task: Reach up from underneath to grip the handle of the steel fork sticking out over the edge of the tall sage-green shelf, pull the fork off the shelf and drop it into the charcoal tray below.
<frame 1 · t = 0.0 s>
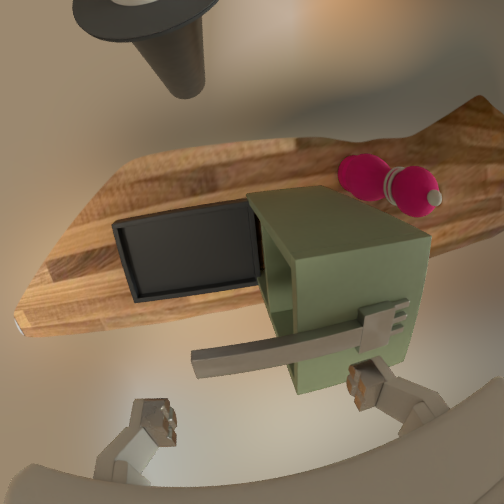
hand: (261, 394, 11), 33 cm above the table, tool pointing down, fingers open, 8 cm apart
shelf: (288, 232, 44), on the table
fork: (297, 342, 20), point 25 cm above the table, touching shelf
pepper mill: (353, 173, 42), on the table
tray: (188, 250, 42), on the table
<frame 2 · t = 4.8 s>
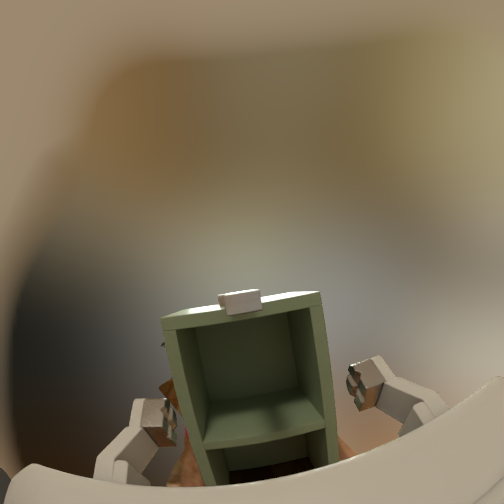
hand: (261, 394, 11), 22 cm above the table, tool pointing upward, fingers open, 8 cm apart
shelf: (273, 484, 25), on the table
fork: (240, 306, 23), point 25 cm above the table, touching shelf
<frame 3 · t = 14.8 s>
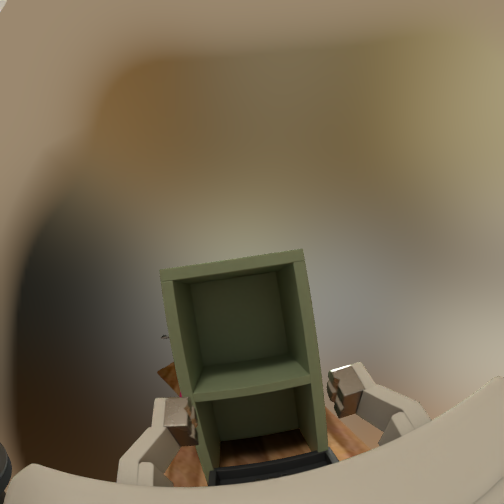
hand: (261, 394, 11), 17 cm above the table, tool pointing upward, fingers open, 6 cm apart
shelf: (263, 452, 29), on the table
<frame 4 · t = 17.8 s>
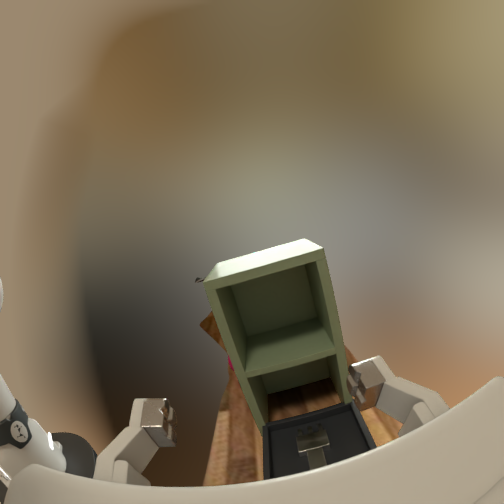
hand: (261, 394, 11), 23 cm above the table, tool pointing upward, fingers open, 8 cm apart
shelf: (302, 402, 39), on the table
fork: (321, 481, 22), point 1 cm above the table, touching tray
tray: (323, 474, 24), on the table
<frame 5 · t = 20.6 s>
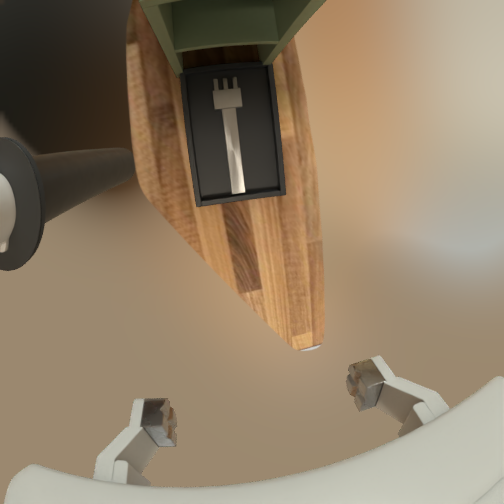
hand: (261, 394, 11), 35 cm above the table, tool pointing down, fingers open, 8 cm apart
shelf: (218, 39, 33), on the table
fork: (231, 140, 39), point 1 cm above the table, touching tray
tray: (232, 131, 39), on the table
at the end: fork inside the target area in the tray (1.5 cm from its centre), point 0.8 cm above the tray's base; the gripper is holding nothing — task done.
